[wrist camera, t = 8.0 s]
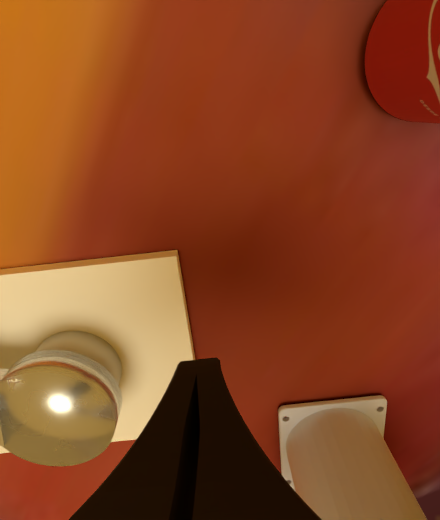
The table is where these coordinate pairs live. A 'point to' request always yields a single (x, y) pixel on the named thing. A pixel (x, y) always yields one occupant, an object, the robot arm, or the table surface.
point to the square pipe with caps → (58, 408)
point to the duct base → (103, 322)
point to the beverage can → (406, 59)
